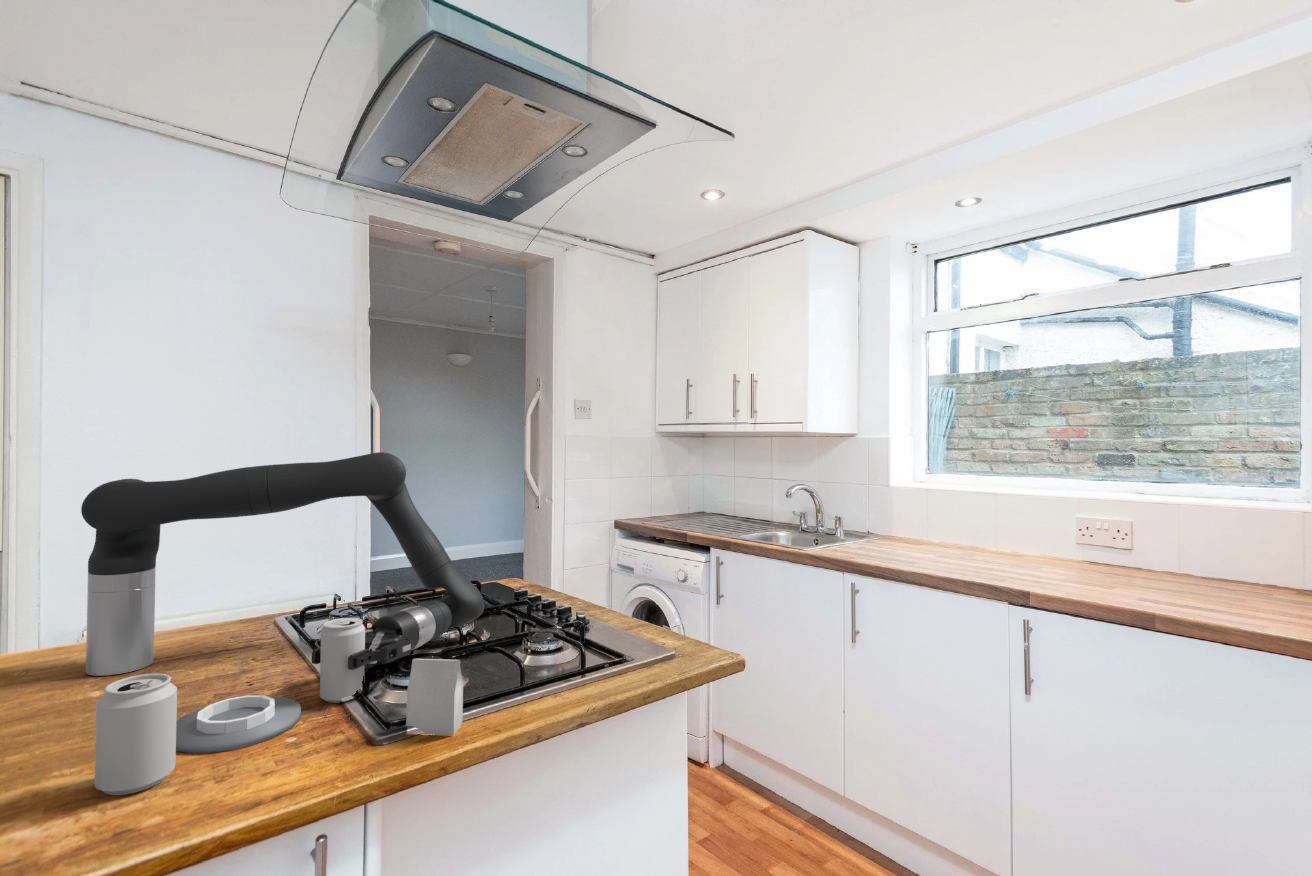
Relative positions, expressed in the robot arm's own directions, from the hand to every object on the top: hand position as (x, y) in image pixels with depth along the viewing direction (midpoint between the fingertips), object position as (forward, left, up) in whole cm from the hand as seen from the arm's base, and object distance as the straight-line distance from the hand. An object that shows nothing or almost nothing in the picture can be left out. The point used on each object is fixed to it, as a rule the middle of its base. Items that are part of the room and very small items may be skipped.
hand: (331, 660), depth 100 cm
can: (+14, -22, -7) cm, 27 cm away
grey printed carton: (+18, +12, -7) cm, 22 cm away
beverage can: (-1, +2, -7) cm, 7 cm away
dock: (+3, -12, -7) cm, 14 cm away
